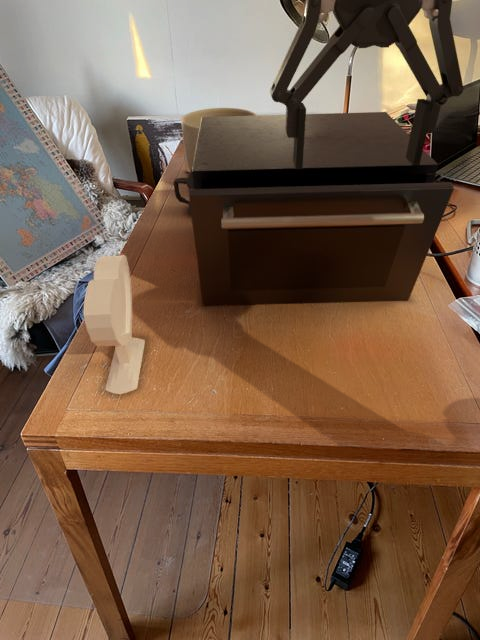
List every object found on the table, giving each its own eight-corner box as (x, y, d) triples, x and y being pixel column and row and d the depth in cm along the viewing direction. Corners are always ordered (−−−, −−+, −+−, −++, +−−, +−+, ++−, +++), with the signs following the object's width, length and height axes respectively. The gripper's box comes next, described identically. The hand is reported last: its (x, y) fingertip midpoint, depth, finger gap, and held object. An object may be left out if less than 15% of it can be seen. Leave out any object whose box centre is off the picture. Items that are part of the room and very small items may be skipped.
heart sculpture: (135, 397, 71) (112, 304, 59) (102, 399, 70) (73, 306, 59) (146, 333, 83) (129, 245, 72) (118, 334, 83) (97, 247, 71)
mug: (223, 203, 125) (221, 163, 118) (219, 218, 118) (217, 176, 111) (180, 203, 126) (176, 162, 119) (173, 217, 119) (168, 175, 112)
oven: (405, 295, 90) (438, 164, 74) (203, 300, 90) (191, 171, 74) (367, 221, 115) (386, 111, 99) (209, 225, 115) (201, 116, 99)
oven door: (413, 315, 86) (462, 203, 66) (202, 321, 86) (187, 211, 66) (406, 294, 90) (451, 182, 70) (203, 300, 90) (189, 189, 70)
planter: (257, 199, 127) (257, 128, 115) (183, 199, 128) (175, 129, 116) (258, 172, 143) (258, 107, 131) (192, 172, 144) (186, 108, 132)
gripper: (506, -76, 44) (447, 149, 57) (245, -69, 43) (248, 155, 57) (550, -81, 38) (473, 171, 51) (249, -73, 38) (251, 178, 51)
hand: (355, 163), depth 54 cm, fingers open, 13 cm apart
